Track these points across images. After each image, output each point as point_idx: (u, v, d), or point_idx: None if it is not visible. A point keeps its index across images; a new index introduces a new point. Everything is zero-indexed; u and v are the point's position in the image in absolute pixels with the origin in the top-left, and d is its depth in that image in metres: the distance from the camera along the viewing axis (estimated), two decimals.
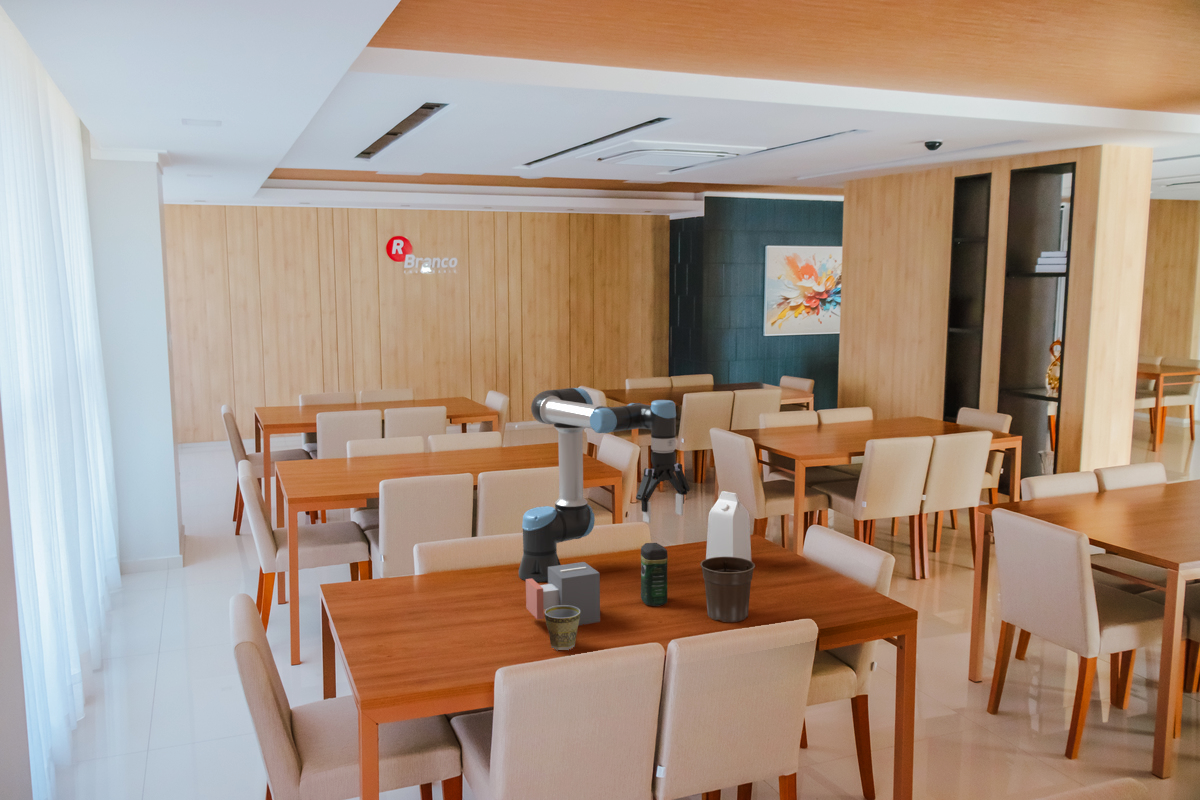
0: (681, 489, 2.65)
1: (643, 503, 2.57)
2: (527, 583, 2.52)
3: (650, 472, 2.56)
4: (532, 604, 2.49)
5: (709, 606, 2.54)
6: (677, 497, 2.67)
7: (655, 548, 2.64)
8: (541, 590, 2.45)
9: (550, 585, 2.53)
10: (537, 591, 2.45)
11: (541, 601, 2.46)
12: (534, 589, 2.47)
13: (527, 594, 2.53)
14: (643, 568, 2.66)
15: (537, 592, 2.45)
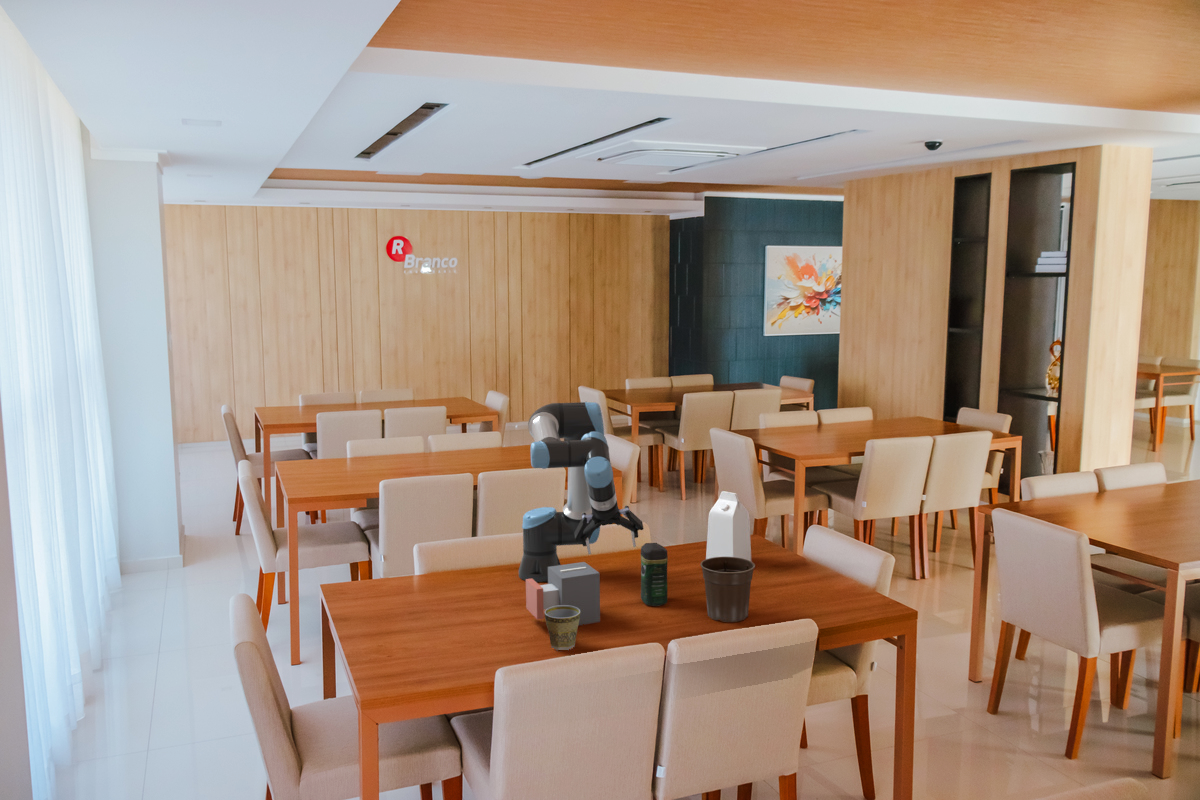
0: (631, 529, 2.47)
1: (581, 539, 2.49)
2: (527, 583, 2.52)
3: (584, 521, 2.42)
4: (532, 604, 2.49)
5: (709, 606, 2.54)
6: None
7: (655, 548, 2.64)
8: (541, 590, 2.45)
9: (550, 585, 2.53)
10: (537, 591, 2.45)
11: (541, 601, 2.46)
12: (534, 589, 2.47)
13: (527, 594, 2.53)
14: (643, 568, 2.66)
15: (537, 592, 2.45)
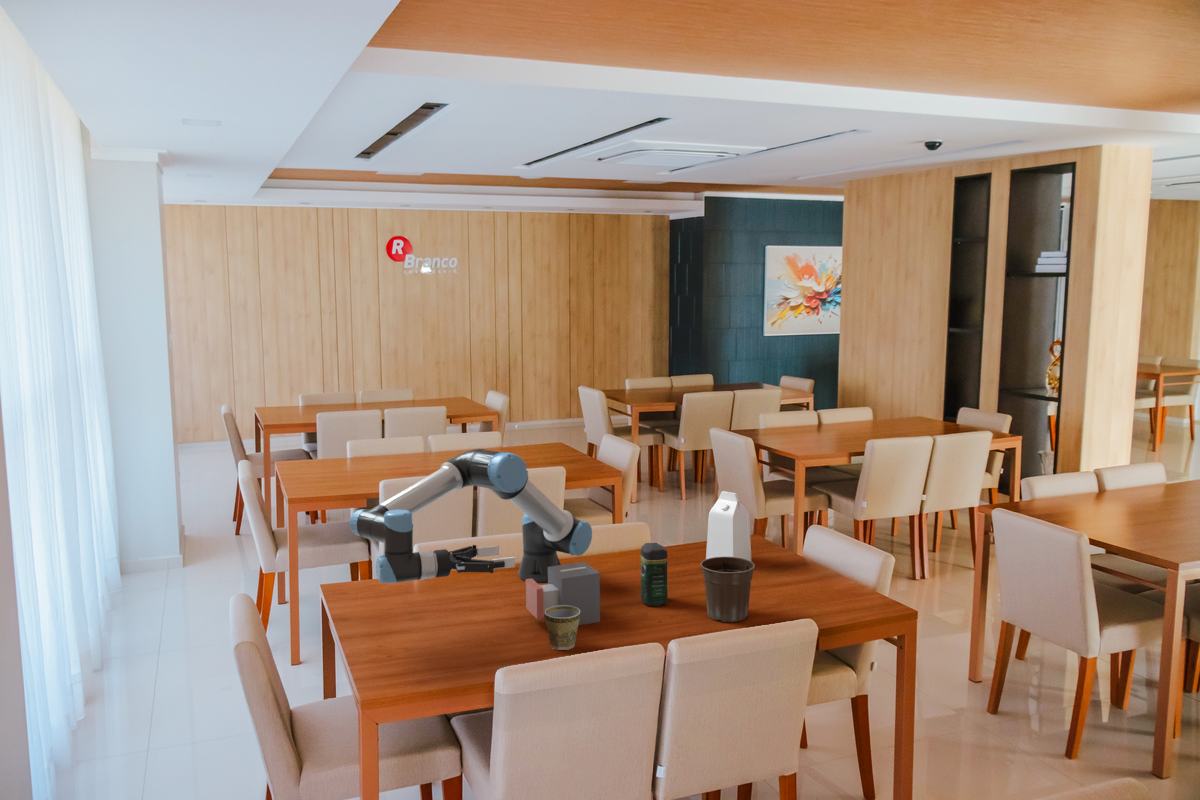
0: None
1: None
2: (527, 583, 2.52)
3: None
4: (532, 604, 2.49)
5: (709, 606, 2.54)
6: None
7: (655, 548, 2.64)
8: (541, 590, 2.45)
9: (550, 585, 2.53)
10: (537, 591, 2.45)
11: (541, 601, 2.46)
12: (534, 589, 2.47)
13: (527, 594, 2.53)
14: (643, 568, 2.66)
15: (537, 592, 2.45)
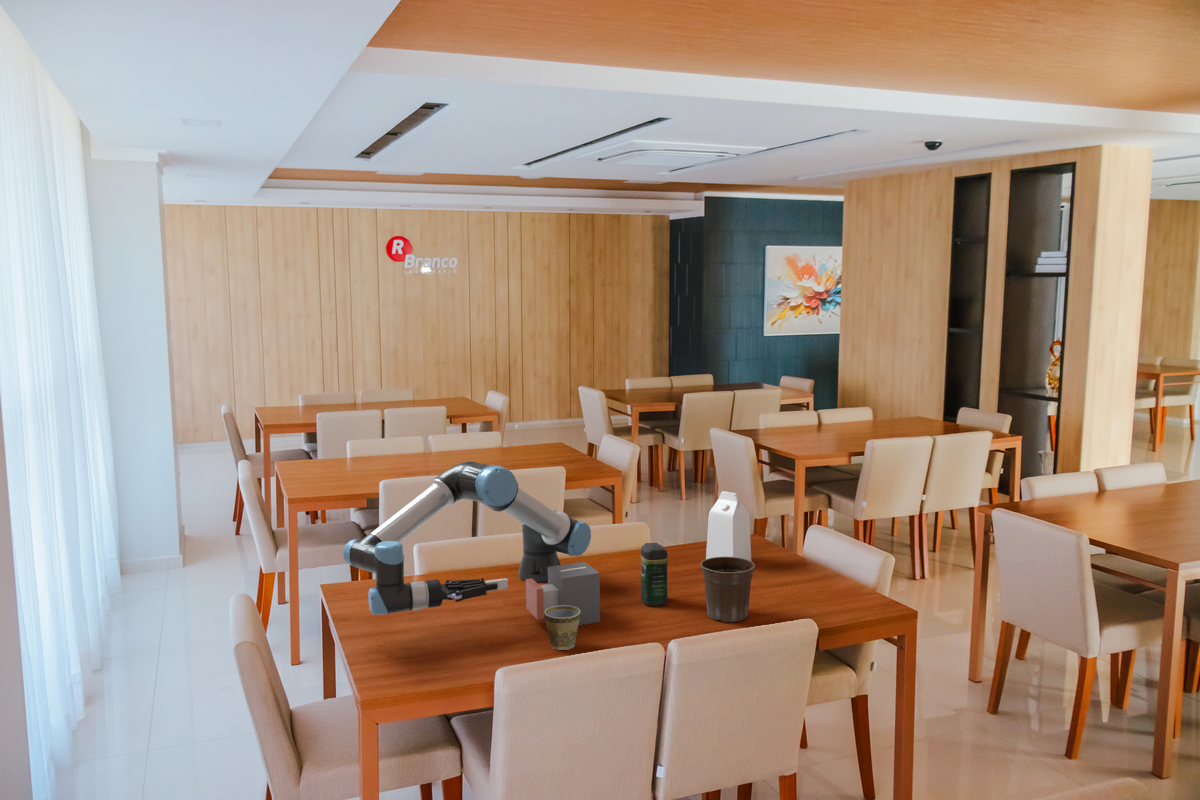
0: None
1: None
2: (527, 583, 2.52)
3: None
4: (532, 604, 2.49)
5: (709, 606, 2.54)
6: None
7: (655, 548, 2.64)
8: (541, 590, 2.45)
9: (550, 585, 2.53)
10: (537, 591, 2.45)
11: (541, 601, 2.46)
12: (534, 589, 2.47)
13: (527, 594, 2.53)
14: (643, 568, 2.66)
15: (537, 592, 2.45)
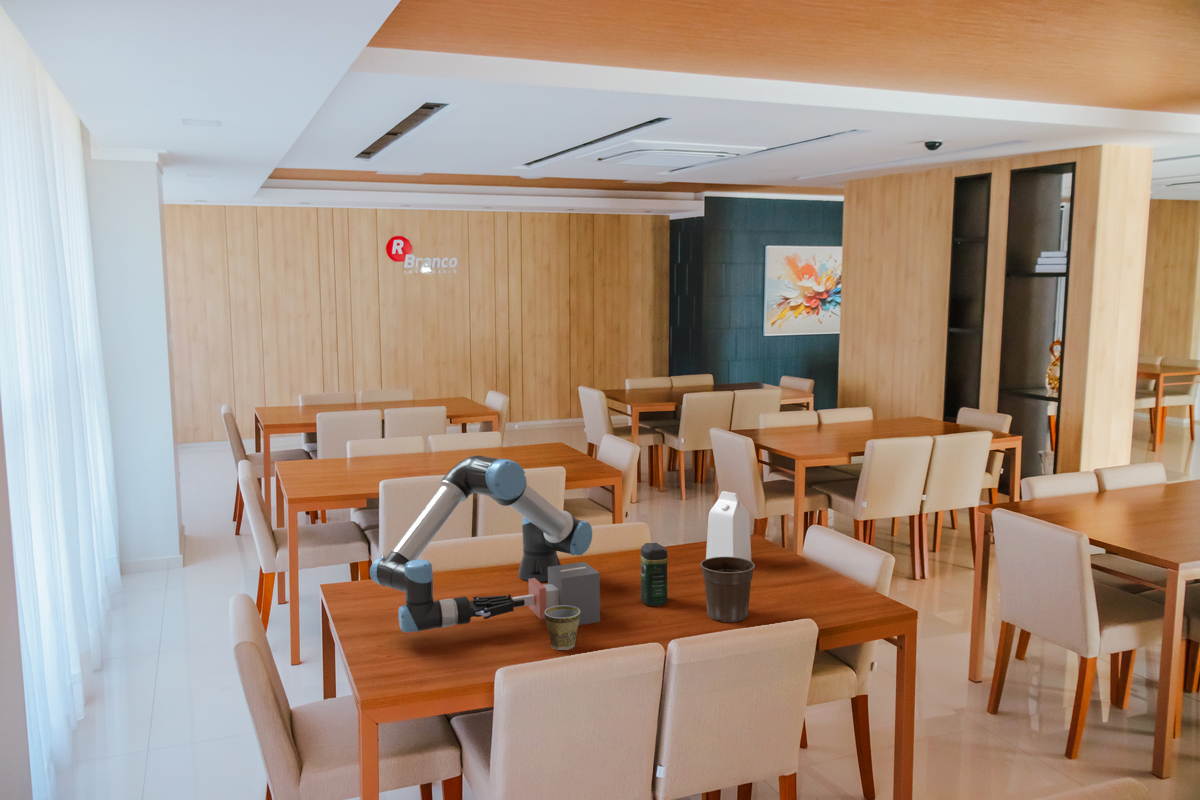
0: None
1: None
2: (530, 583, 2.53)
3: None
4: (535, 604, 2.49)
5: (709, 606, 2.54)
6: None
7: (655, 548, 2.64)
8: (544, 590, 2.46)
9: (553, 585, 2.54)
10: (540, 590, 2.45)
11: (544, 601, 2.46)
12: (537, 589, 2.47)
13: (530, 593, 2.53)
14: (643, 568, 2.66)
15: (540, 592, 2.45)
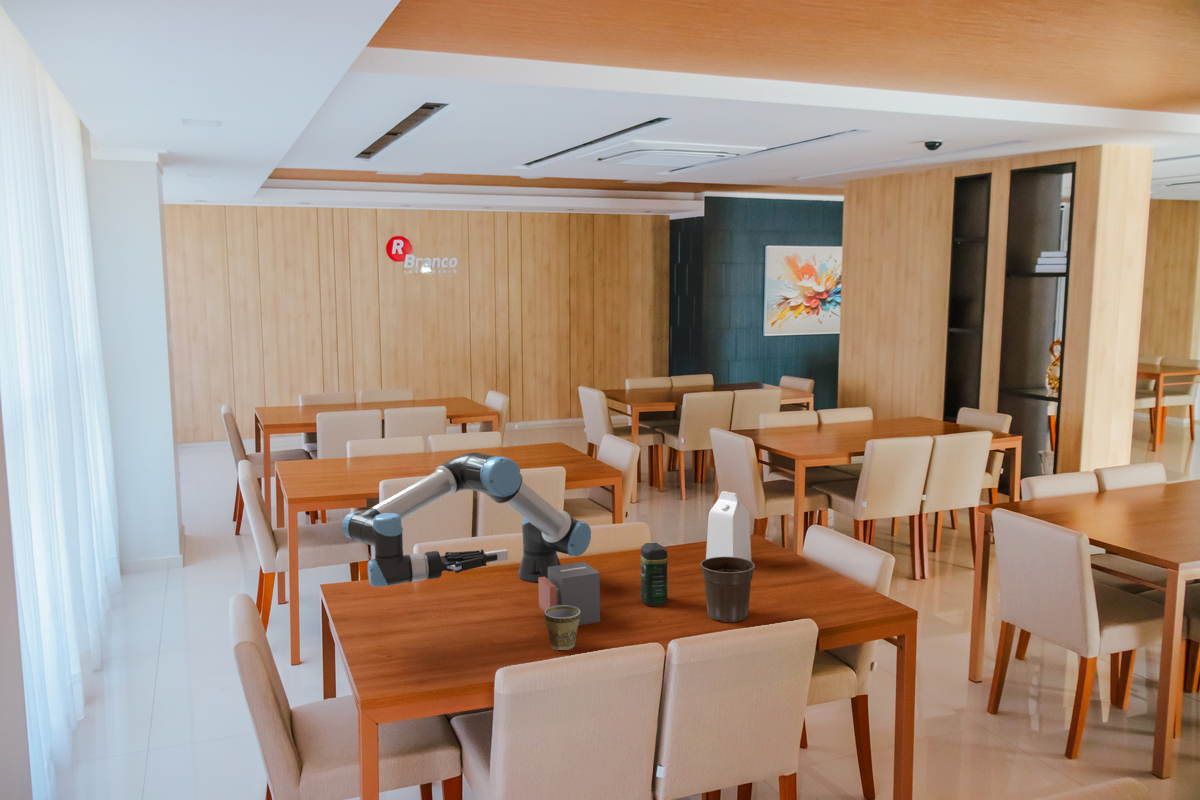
0: None
1: None
2: (540, 581, 2.54)
3: None
4: (545, 602, 2.51)
5: (709, 606, 2.54)
6: None
7: (655, 548, 2.64)
8: (554, 588, 2.47)
9: None
10: (551, 589, 2.46)
11: (554, 599, 2.47)
12: (547, 587, 2.48)
13: (540, 592, 2.54)
14: (643, 568, 2.66)
15: (550, 590, 2.47)
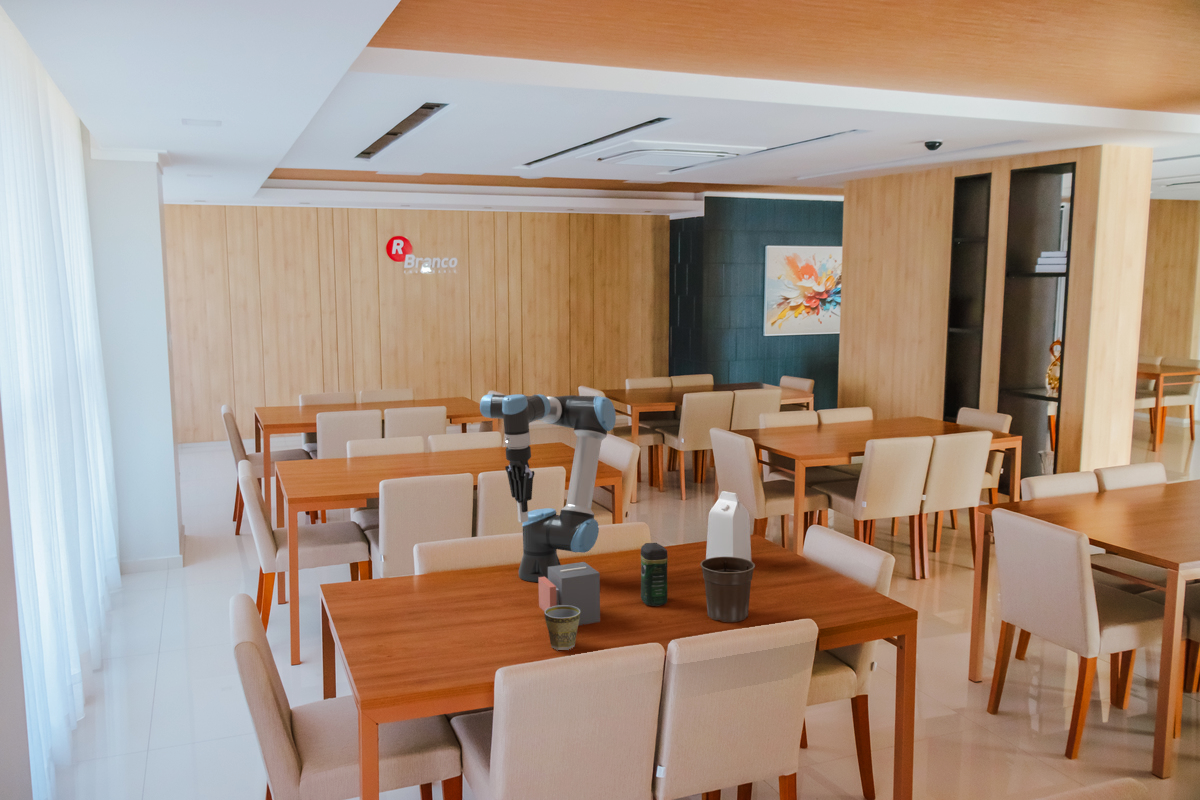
0: (520, 495, 2.56)
1: None
2: (540, 581, 2.54)
3: (506, 469, 2.60)
4: (545, 602, 2.51)
5: (709, 606, 2.54)
6: None
7: (655, 548, 2.64)
8: (554, 588, 2.47)
9: None
10: (551, 589, 2.46)
11: (554, 599, 2.47)
12: (547, 587, 2.48)
13: (540, 592, 2.54)
14: (643, 568, 2.66)
15: (550, 590, 2.47)
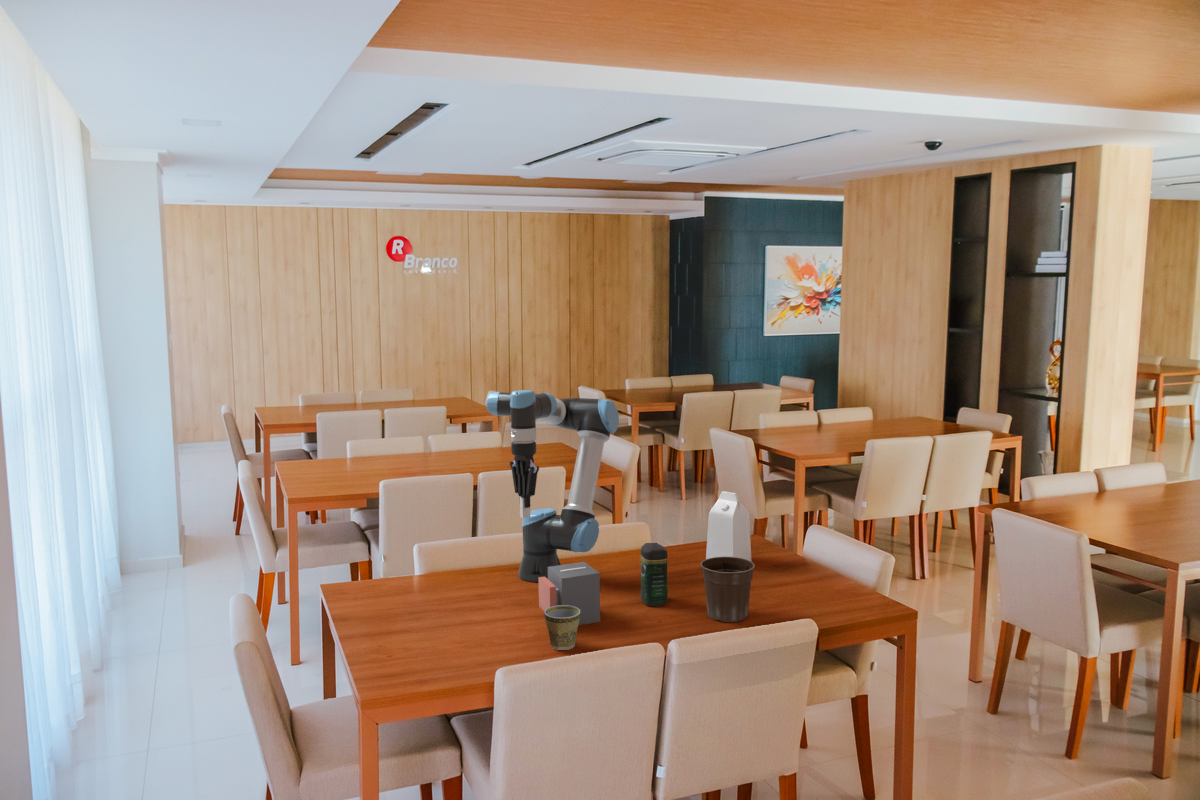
0: (523, 490, 2.57)
1: None
2: (540, 581, 2.54)
3: (510, 464, 2.62)
4: (545, 602, 2.51)
5: (709, 606, 2.54)
6: None
7: (655, 548, 2.64)
8: (554, 588, 2.47)
9: None
10: (551, 589, 2.46)
11: (554, 599, 2.47)
12: (547, 587, 2.48)
13: (540, 592, 2.54)
14: (643, 568, 2.66)
15: (550, 590, 2.47)
